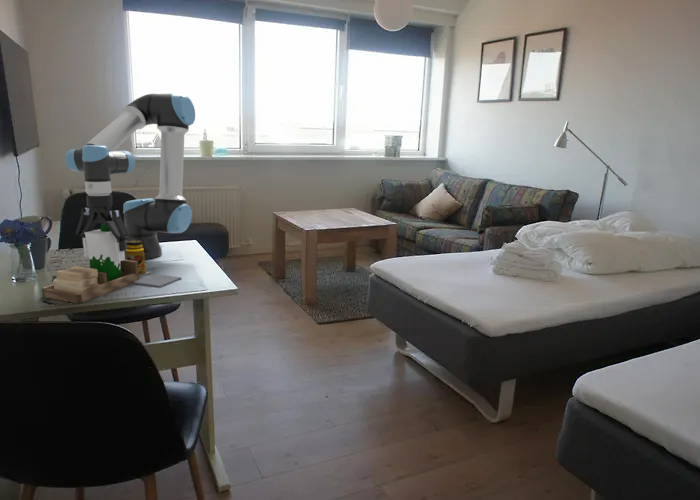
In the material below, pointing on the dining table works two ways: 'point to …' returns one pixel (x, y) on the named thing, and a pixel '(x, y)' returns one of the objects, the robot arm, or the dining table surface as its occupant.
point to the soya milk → (103, 252)
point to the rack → (128, 277)
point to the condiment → (136, 255)
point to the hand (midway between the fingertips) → (104, 258)
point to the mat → (157, 280)
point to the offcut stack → (76, 279)
